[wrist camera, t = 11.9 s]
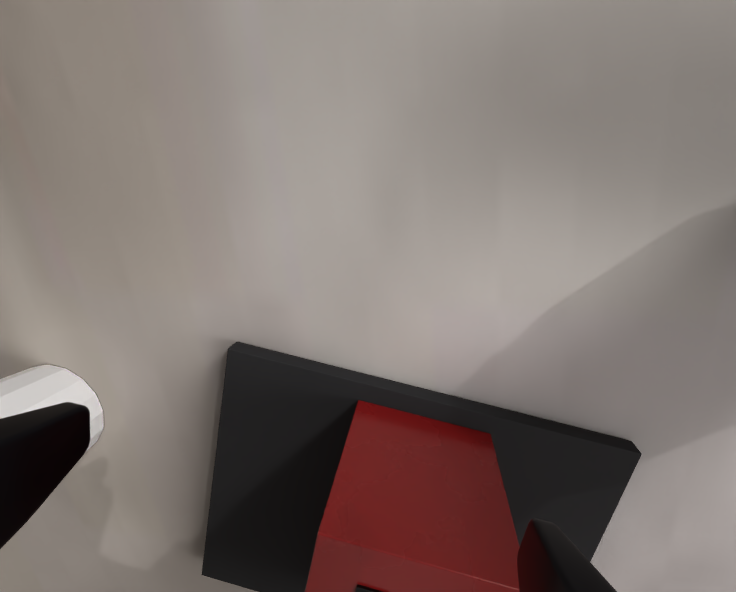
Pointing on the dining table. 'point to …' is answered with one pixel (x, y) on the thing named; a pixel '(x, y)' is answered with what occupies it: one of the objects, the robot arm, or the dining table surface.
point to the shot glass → (49, 394)
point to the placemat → (323, 452)
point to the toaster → (415, 510)
